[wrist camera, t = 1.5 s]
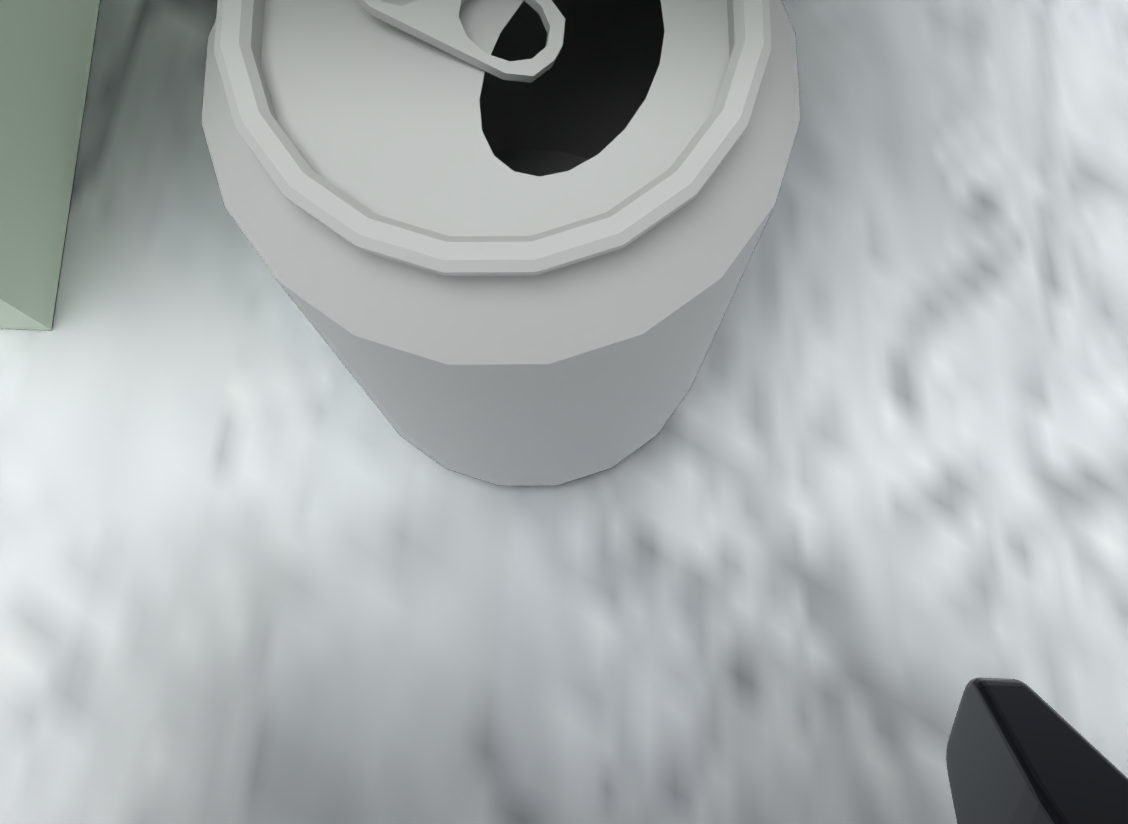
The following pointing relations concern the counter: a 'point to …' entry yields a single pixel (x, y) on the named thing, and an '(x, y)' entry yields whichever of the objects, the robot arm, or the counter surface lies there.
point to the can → (507, 203)
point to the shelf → (39, 147)
